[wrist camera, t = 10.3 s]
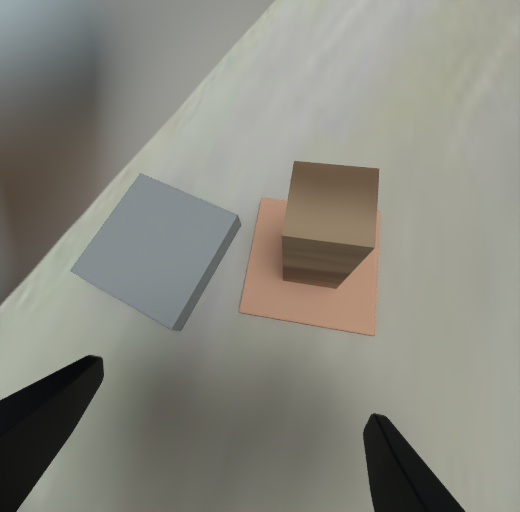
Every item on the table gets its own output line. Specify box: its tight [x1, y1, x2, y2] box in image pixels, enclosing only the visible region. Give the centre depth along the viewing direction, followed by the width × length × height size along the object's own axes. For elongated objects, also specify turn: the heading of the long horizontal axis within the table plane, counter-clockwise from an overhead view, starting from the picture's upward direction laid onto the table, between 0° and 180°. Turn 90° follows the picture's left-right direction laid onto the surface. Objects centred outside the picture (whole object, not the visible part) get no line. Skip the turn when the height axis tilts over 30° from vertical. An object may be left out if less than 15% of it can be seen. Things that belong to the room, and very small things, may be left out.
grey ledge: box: [70, 173, 241, 331], centre depth 24 cm, size 11×11×2 cm
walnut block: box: [282, 161, 379, 289], centre depth 18 cm, size 4×4×10 cm
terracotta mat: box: [239, 198, 380, 336], centre depth 23 cm, size 11×11×1 cm
